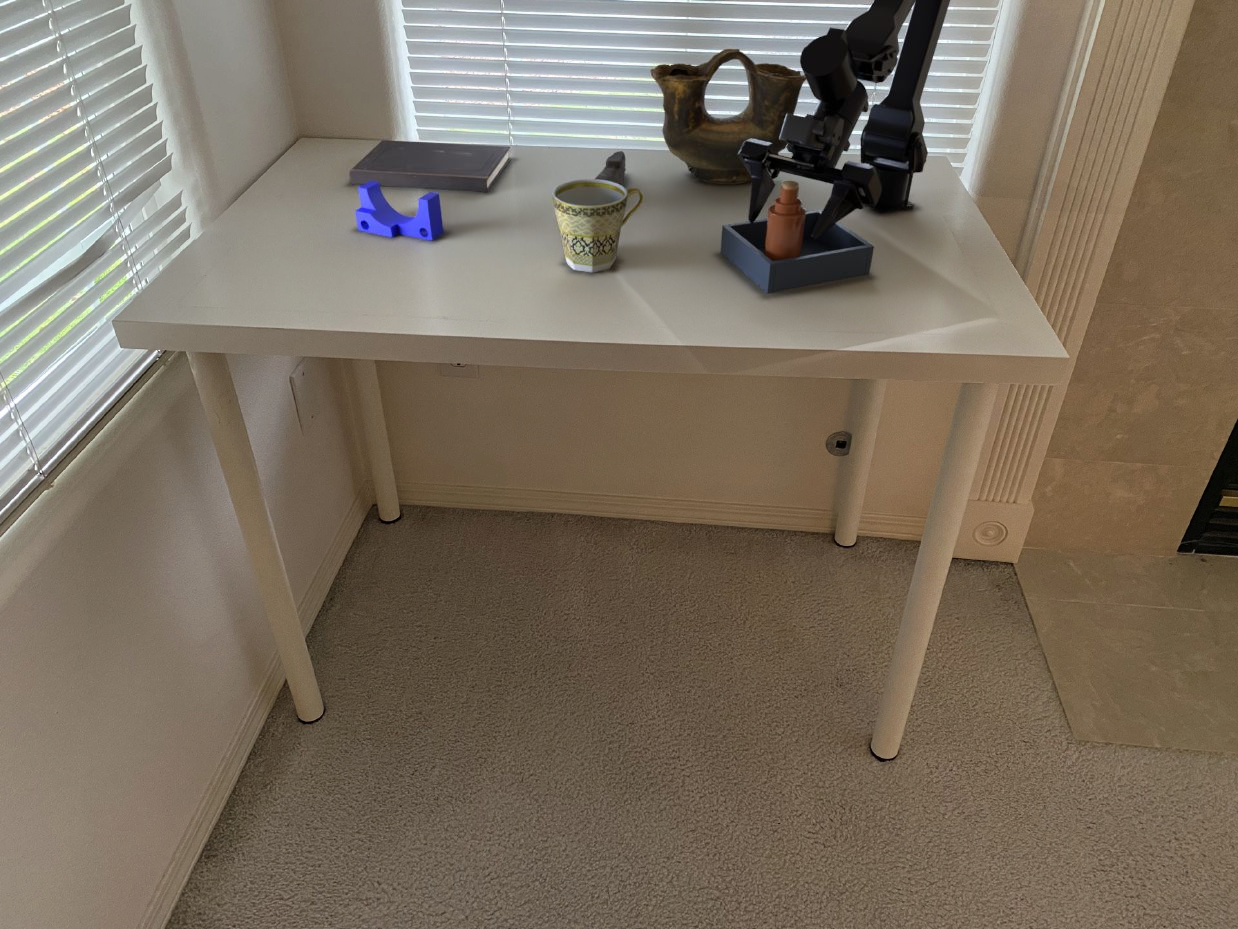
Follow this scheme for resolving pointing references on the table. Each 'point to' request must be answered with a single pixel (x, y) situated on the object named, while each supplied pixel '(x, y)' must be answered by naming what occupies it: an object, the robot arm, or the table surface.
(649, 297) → the table surface
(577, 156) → the table surface
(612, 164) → the hand tool
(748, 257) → the bin
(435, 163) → the hardcover book
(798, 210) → the bottle
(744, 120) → the pottery vessel
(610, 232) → the ceramic cup
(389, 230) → the blue mounting bracket
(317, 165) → the table surface
